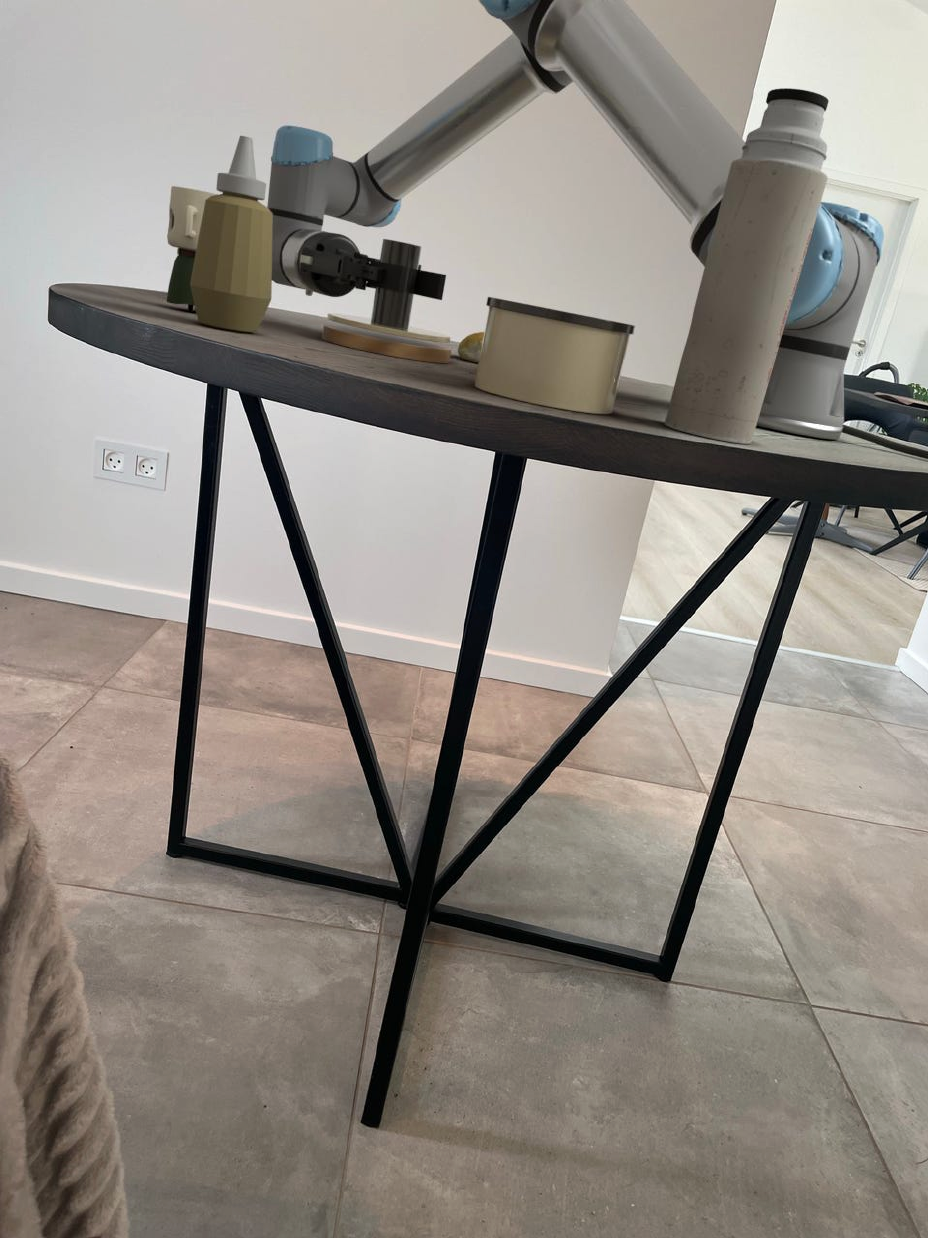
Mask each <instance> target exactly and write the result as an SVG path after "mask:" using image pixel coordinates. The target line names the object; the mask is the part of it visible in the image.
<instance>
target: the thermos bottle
mask: <svg viewBox="0 0 928 1238" xmlns="http://www.w3.org/2000/svg"><path fill="white" fill-rule="evenodd" d="M765 103H766V105H767V108H766V109H765V110H764V111H763V116H762V119H761V121H760V122H761V123H760V126H759V127H757V128H756V129H753V130H752V131H750V132H749V133H748V134H747V136H746V139H745V141H744V142H745V145H744V146H743V147H742V150H743V154H742V157H741V159H737V160H734V161H733V162H732V163H731V167H730V170H729V174H728V178H727V182H726V186H725V190H724V194H723V198H722V202H721V206H720V209H719V213H718V217H717V221H716V225H715V229H714V233H713V237H712V241H711V245H710V248H709V252H708V256H707V260H706V264H705V267H704V269H703V272H702V276H701V280H700V284H699V288H698V291H697V296H696V300H695V302H694V303H695V304H694V307H693V313H692V317H691V321H690V322H691V323H690V326H689V331H688V335H687V338H686V341H685V345H684V347H683V351H682V355H681V358H680V362H679V366H678V369H677V374H676V378H675V381H674V384H673V385H674V386H673V389H672V393H671V396H670V401H669V404H668V409H667V413H666V416H665V420H664V426H666V427H668V428H670V429H673V430H676V431H678V432H679V431H680V432H681V433H682V432H683V433H685V434H686V433H687V434H691V435H694V436H698V437H703V438H707V439H712V440H716V441H722V442H726V443H734V444H744V445H749V444H751V443H752V442H753V437H754V434H755V431H756V427H757V426H756V424H757V421H758V417H759V414H760V411H761V407H762V404H763V400H764V397H765V393H766V390H767V386H768V383H769V379H770V376H771V372H772V369H773V366H774V362H775V359H776V355H777V352H778V348H779V344H780V340H781V336H782V333H783V329H784V325H785V322H786V318H787V315H788V312H789V308H790V305H791V302H792V299H793V296H794V293H795V289H796V286H797V282H798V279H799V276H800V272H801V269H802V265H803V262H804V258H805V255H806V251H807V248H808V244H809V241H810V238H811V234H812V231H813V227H814V224H815V220H816V217H817V213H818V210H819V206H820V203H821V202H822V200H823V196H824V193H825V188H826V186H827V181H828V177H829V176H828V175H827V174H826V173H825V172H823V171H822V167H823V164H824V161H826V160H827V157H828V155H827V154H826V153H827V150H828V145H827V143H826V141H825V140H824V139H823V138H822V137H821V132H822V130H823V129H822V128H823V126H824V122H825V121H824V120H825V118H824V114H825V112H826V111H827V109H828V105H829V99H828V98H827V97H826V96H825V95H822V94H820V93H817V92H814V91H811V90H806V89H800V88H790V87H789V88H775V89H771V90H769V91H768V92H767V96H766V100H765Z"/></svg>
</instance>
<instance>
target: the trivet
mask: <svg viewBox="0 0 928 1238" xmlns="http://www.w3.org/2000/svg"><path fill="white" fill-rule="evenodd" d="M321 339H322V340H323V341H326V342H328V343H332V344H335V345H338V346H342V347H346V348H351V349H353V350H359V351H364V352H368V353H373V354H378V355H382V356H388V357H394V358H400V359H405V360H412V361H417V362H418V361H419V362H427V363H437V364H448V363H450V360H451V354H452V348H451V347H448V346H446V345H442V344H438V343H436V342H432V341H427V340H420V339H414V338H408V337H402V336H397V335H391V334H386V333H381V332H376V331H371V330H367V329H362V328H358V327H353V326H348V325H339V324H323V327H322V335H321Z"/></svg>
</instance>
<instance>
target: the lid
mask: <svg viewBox="0 0 928 1238" xmlns="http://www.w3.org/2000/svg"><path fill="white" fill-rule="evenodd" d="M421 253H422V246H420V245H418V244H417V245H416V244H412V243H408V242H404V241H399V240H393V239H388V238H383V239H382V243H381V251H380V257H379V260H380V262H384V263H389V264H395V265H400V266H405V267H408V271H407V277H406V284H405V290H404V293H401V292H396V291H392V290H387V289H383V288H378V287H376V289H374V297H373V304H372V311H371V317H370V318H369V317H363V316H358V315H353V314H352V315H351V314H345V313H337V312H327V315H326V319H327V320H329V321H331V322H334V323H338V324H341V325H344V326H348V327H354V328H360V329H367V330H371V331H376V332H381V333H386V334H391V335H397V336H402V337H408V338H414V339H418V340H423V341H427V342H433V343H442V344H443V343H445V344H446V343H447V344H448V343H450V342H451V336H450V335H448V334H444V333H441V332H437V331H433V330H429V329H424V328H420V327H415V326H410V322H411V321H410V320H411V314H412V308H413V303H414V297H415V294H414V291H415V285H416V278H417V272H418V266H419V265H420V260H421V259H420V258H421Z"/></svg>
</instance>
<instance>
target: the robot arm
mask: <svg viewBox="0 0 928 1238" xmlns="http://www.w3.org/2000/svg"><path fill="white" fill-rule="evenodd" d="M478 2H479V3H480V5H482V7H483V8H484V9H485V11H486V13H487V14H488V15H490V16H491V17H494V18H495V19H497V20H501V22H503V24H504V25H506V26H507V27H508V28H509V30H510V31H511V34H510V35H509V36H508V37H507V38H505V39H504V40H503V41H502V42H501V43H499V44H497V46H496V47H494V48H493V49H492V50H490V52H488V53H487V54H486V55H484V57H482V58H481V59H480V60H479V61H477V62H476V63H475V64H474V65H473V66H471V67H470V68H469V69H468V70H466V71H465V72H464V73H463V74H462V75H460V76H459V77H458V78H457V79H456V80H454V81H453V82H452V83H451V84H449V85H448V86H447V87H446V88H445V89H443V90H442V91H441V92H439V93H438V94H437V95H436V96H435V97H433V98H432V99H431V100H430V101H429V102H427V103H426V104H425V105H423V106H422V107H421V108H420V109H419V110H418V111H416V112H415V113H414V114H413V115H411V116H410V117H409V118H407V120H405V121H404V122H403V123H401V124H400V125H399V126H398V127H397V128H395V129H394V130H393V131H392V132H391V133H389V134H388V135H387V136H385V137H384V139H382V140H381V141H380V142H378V143H377V144H376V145H375V146H374V147H372V148H371V149H369V151H367V152H366V153H365V154H363V155H362V156H361V157H359V158H358V159H357V160H356V161H354V162H352V161H348V160H345V159H343V158H340V157H338V156H334V152H333V150H334V148H333V146H334V145H333V139H332V138H331V137H330V136H329V135H328V134H326V133H324V132H321V131H318V130H315V129H311V128H307V127H302V126H297V125H282V126H280V127H279V128H278V129H277V131H276V132H275V138H274V141H273V148H272V155H271V156H270V162H271V165H270V175H269V176H270V177H269V185H268V186H269V187H268V197H267V205H266V207H267V208H268V209H269V210H270V211H271V212H272V214H273V222H272V282H274V283H275V284H278V285H282V286H286V287H290V288H291V287H292V288H296V289H300V290H305V292H304V293H305V295H306V296H307V297H311V296H313V294H314V293H317V294H319V295H322V296H326V297H330V298H340V297H344V296H347V295H348V294H350V293H351V292H352V291H353V290H354V289H357V290H361V291H366V290H367V288H370V289H374V290H376V287H378V288H383V289H387V290H392V291H396V292H401V293H404V290H405V284H406V277H407V271H408V267H405V266H400V265H395V264H389V263H384V262H380V258H374V257H369V255H367V254H364V253H361V251H360V250H359V247H358V246H357V244H356V243H355V242H354V241H353V240H352V239H351V238H349V237H348V236H346V235H344V234H341V233H335V232H329V231H326V230H322V229H323V225H324V217H325V216H327V217H332V218H336V219H338V220H342V221H346V222H349V223H352V224H355V225H358V226H362V227H367V228H369V227H372V228H384V227H387V226H389V225H390V224H392V223H393V222H394V221H395V219H396V217H397V215H398V213H399V212H400V211H401V210H400V209H401V207H402V199H403V198H404V197H406V196H408V194H410V193H411V192H412V191H414V190H415V189H416V188H418V187H419V186H421V185H422V184H423V183H425V181H427V180H429V179H430V178H431V177H433V176H434V175H436V173H438V172H439V171H441V170H443V168H445V167H446V166H447V165H448V164H450V163H451V162H453V161H454V160H455V159H457V158H458V157H459V156H461V155H462V154H463V153H465V152H466V151H467V150H469V149H471V148H472V147H473V146H474V145H475V144H477V143H478V142H480V141H481V140H482V139H484V138H485V137H486V136H488V135H489V134H490V133H491V132H493V131H494V130H495V129H497V128H498V127H500V126H501V125H502V124H504V123H505V122H507V121H508V120H509V119H510V118H512V117H513V116H514V115H516V114H517V113H518V112H520V111H521V110H522V109H524V108H525V107H526V106H528V105H529V104H531V103H532V102H533V101H535V100H537V98H539V97H540V96H541V95H542V94H544V93H548V94H552V95H557V94H559V93H560V92H561V91H563V89H565V88H566V87H568V86H569V85H570V84H573V83H574V84H575V85H576V87H577V88H578V89H579V91H581V93H582V94H583V95H584V97H586V99H587V100H588V101H589V102H590V103H591V105H592V106H593V108H594V109H595V110H596V111H597V112H598V114H600V116H601V118H603V120H604V121H605V122H606V123H607V124H608V125H609V127H610V129H612V130H613V132H614V133H615V134H616V136H617V137H618V138H619V139H620V141H622V143H623V144H624V145H625V146H626V148H627V149H628V150H629V152H631V154H632V155H633V156H634V158H636V160H637V161H638V162H639V163H640V165H641V166H642V167H643V168H644V169H645V171H646V172H647V173H648V175H649V176H650V177H651V178H652V179H653V180H654V182H655V183H656V184H657V185H658V186H659V188H660V189H661V190H662V192H663V193H664V194H665V195H666V197H667V198H668V199H669V200H670V201H671V202H672V204H673V205H674V206H675V207H676V208H677V210H678V211H679V212H680V214H681V215H682V216H683V217H684V218H685V220H686V221H687V222H688V223H689V224H690V226H691V232H690V236H689V242H688V243H689V244H688V245H689V248H690V250H691V252H692V253H693V255H694V256H695V257H696V258H697V259H698V261H699V262H700V263H701V265H702V266H703V267H704V268H705V264H706V260H707V256H708V252H709V248H710V245H711V241H712V237H713V233H714V229H715V225H716V221H717V217H718V213H719V209H720V206H721V202H722V198H723V194H724V190H725V186H726V182H727V178H728V174H729V170H730V167H731V163H732V162H733V161H734V160H737V159H741V157H742V154H743V150H742V147H743V146H744V145H745V142H746V141H745V140H744V139H743V138H742V136H740V135H739V133H738V131H736V130H735V128H733V126H732V125H731V124H730V122H729V121H727V119H726V118H725V117H724V115H723V114H722V113H721V112H720V111H719V109H717V107H716V106H715V105H714V104H713V103H712V102H711V100H710V99H709V98H708V96H707V95H706V94H705V93H704V92H703V91H702V90H701V89H700V87H699V86H698V84H696V83H695V81H693V79H692V78H691V77H690V76H689V75H688V73H687V72H686V71H685V70H684V69H683V67H681V65H680V64H679V63H678V62H677V60H676V59H675V58H674V57H673V55H671V54H670V53H669V51H668V50H667V49H666V48H665V46H664V45H663V44H662V43H661V41H660V40H659V39H658V38H657V37H656V36H655V35H654V33H653V32H652V31H651V30H650V29H649V27H648V26H647V25H646V24H645V23H644V22H643V21H642V20H641V18H640V17H639V16H638V14H637V13H636V12H635V11H634V10H633V9H632V8H631V7H630V6H629V4H628V3H627V2H626V0H478ZM884 237H885V232H884V228H883V226H882V224H881V223H880V222H879V221H878V220H877V219H876V218H875V217H874V216H872V215H870V214H868V213H865V212H860V210H859V209H856V208H854V207H850V206H847V205H843V204H838V203H833V202H826V201H821V203H820V206H819V210H818V213H817V217H816V220H815V224H814V227H813V231H812V234H811V238H810V241H809V244H808V248H807V251H806V255H805V258H804V262H803V265H802V269H801V272H800V276H799V279H798V282H797V286H796V289H795V293H794V296H793V299H792V302H791V305H790V308H789V312H788V315H787V318H786V322H785V325H784V329H783V333H782V336H781V340H780V344H779V348H778V352H777V355H776V359H775V362H774V366H773V369H772V372H771V376H770V379H769V383H768V386H767V390H766V393H765V397H764V400H763V404H762V407H761V411H760V414H759V417H758V421H757V424H756V427H761V428H765V429H771V430H773V431H779V432H785V433H788V434H794V435H799V436H806V437H811V438H818V439H825V440H834V441H835V440H840V438H841V434H842V433H843V434H846V435H849V436H852V437H854V438H858V439H861V440H863V441H867V442H870V443H872V444H874V445H878V446H880V447H884V448H886V449H889V450H893V451H894V452H899V453H902V454H906V455H909V456H913V457H917V458H922V459H924V460H928V450H926V449H922V448H918V447H913V446H910V445H906V444H902V443H899V442H896V441H893V440H891V439H887V438H885V437H882V436H880V435H877V434H874V433H871V432H868V431H864V430H861V429H858V428H855V427H853V426H849V425H846V424H844V423H845V379H844V378H845V373H844V371H845V367H846V363H847V360H848V356H849V353H850V351H851V347H852V344H853V341H854V338H855V335H856V332H857V328H858V325H859V321H860V319H861V315H862V312H863V309H864V306H865V302H866V299H867V297H868V294H869V290H870V288H871V284H872V281H873V277H874V275H875V271H876V267H878V265H879V263H880V260H881V258H882V247H883V242H884V239H885V238H884ZM446 279H447V274H442V273H437V272H433V271H427V270H423V269H422V264H419V266H418V272H417V278H416V285H415V291H414V296H420V297H423V298H424V297H425V298H429V299H433V300H438V301H443V297H444V290H445V285H446Z"/></svg>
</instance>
